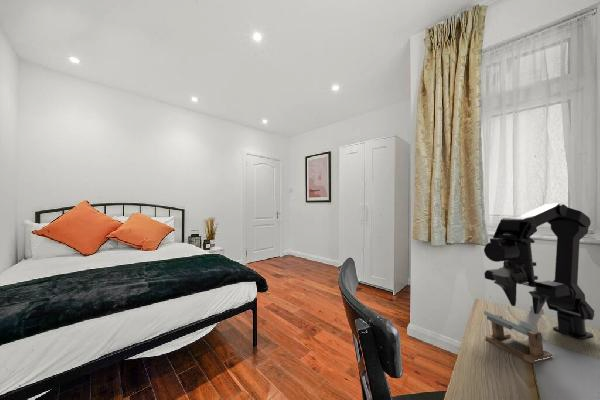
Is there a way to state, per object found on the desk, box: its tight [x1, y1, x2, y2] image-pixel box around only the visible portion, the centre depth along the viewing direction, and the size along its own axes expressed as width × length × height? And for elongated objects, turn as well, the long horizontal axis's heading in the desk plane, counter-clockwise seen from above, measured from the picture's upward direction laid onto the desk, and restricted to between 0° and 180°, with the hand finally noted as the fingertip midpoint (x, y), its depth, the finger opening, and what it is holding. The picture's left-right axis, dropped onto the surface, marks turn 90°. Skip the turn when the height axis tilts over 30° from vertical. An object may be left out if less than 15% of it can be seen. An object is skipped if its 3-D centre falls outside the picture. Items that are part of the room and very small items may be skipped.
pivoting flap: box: [483, 310, 549, 345], centre depth 67 cm, size 14×8×2 cm, turn 100°
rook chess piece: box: [517, 305, 545, 331], centre depth 69 cm, size 4×4×8 cm
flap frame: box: [485, 314, 553, 364], centre depth 67 cm, size 8×12×7 cm, turn 12°
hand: (524, 309), depth 69 cm, fingers open, 6 cm apart
